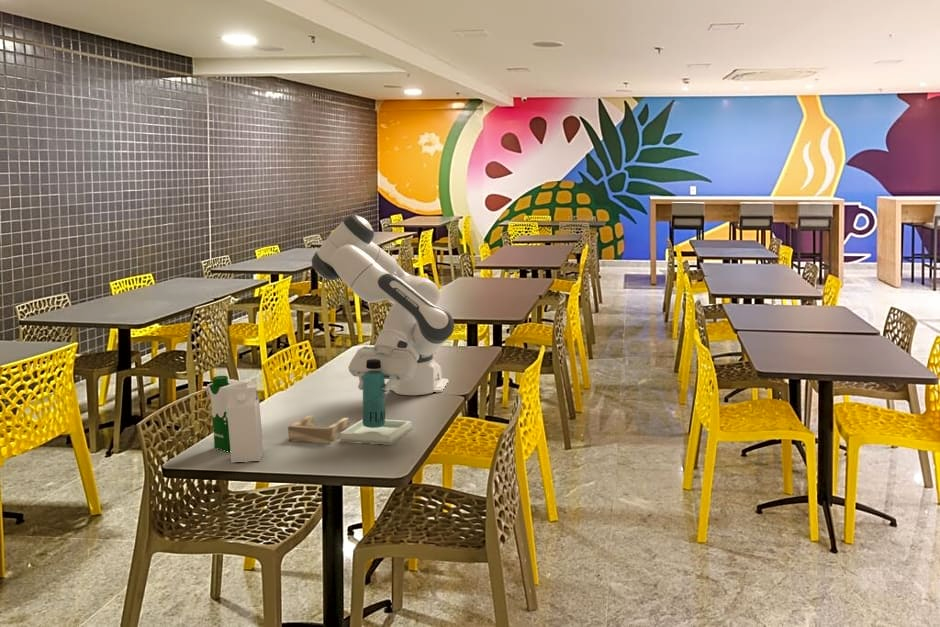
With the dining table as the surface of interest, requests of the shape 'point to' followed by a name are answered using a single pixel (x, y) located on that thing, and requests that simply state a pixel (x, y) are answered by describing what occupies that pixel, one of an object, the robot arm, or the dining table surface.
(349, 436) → the tray
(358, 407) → the dining table surface
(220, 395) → the soya milk
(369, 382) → the beverage bottle
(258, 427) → the milk carton
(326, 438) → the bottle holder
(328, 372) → the dining table surface
